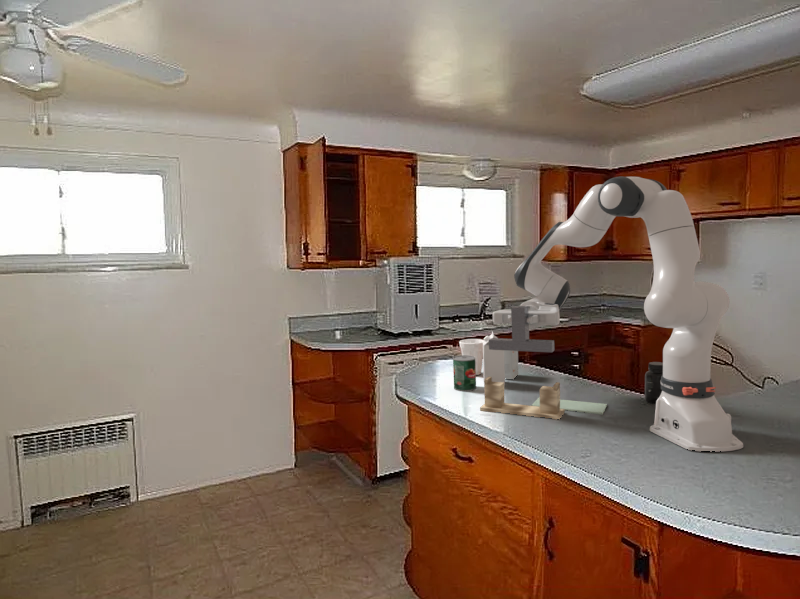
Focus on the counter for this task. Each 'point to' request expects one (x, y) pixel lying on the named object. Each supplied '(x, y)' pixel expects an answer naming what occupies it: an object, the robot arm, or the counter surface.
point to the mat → (578, 406)
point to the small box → (510, 364)
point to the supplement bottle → (653, 382)
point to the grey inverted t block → (520, 335)
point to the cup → (473, 351)
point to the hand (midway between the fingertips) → (519, 320)
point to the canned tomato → (464, 373)
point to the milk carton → (493, 362)
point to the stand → (546, 409)
